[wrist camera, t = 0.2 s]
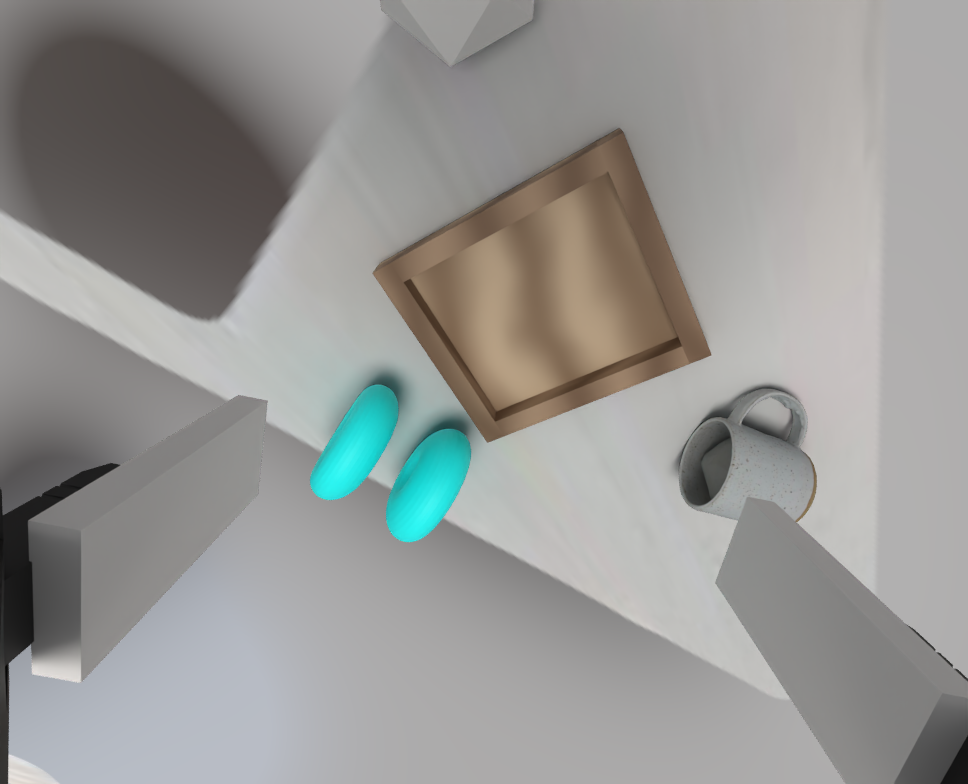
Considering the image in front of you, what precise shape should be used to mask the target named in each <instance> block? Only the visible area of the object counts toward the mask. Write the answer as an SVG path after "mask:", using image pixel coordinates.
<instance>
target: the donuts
mask: <svg viewBox="0 0 968 784" xmlns="http://www.w3.org/2000/svg"><path fill="white" fill-rule="evenodd" d="M398 411H399V407H398V401H397V398H396V396H395V394H394V393H393V391H392V390H391V389H390V388H388V387H386V386H384V385H372V386H369V387H367V388H366V389H365V390H364V391H363V392H362V393H361V394H360V395H359V396H358V398H357V399H356V401H355V402H354V404H353V405H352V406H351V408H350V409H349V411H348V412H347V414H346V415H345V417H344V418H343V420H342V422H341V423H340V425H339V426H338V428H337V429H336V431H335V433H334V434H333V436H332V438H331V439H330V441H329V442H328V444H327V446H326V447H325V449H324V451H323V453H322V454H321V456H320V458H319V459H318V461H317V463H316V465H315V467H314V469H313V471H312V474H311V477H310V485H311V488H312V490H313V492H314V493H315V494H316V495H317V496H318V497H320V498H322V499H326V500H335V499H339V498H342V497H345V496H346V495H348V494H350V493H351V492H352V491H354V490H355V489H356V488H357V487H358V486H359V485H360V484H361V483H362V482H363V481H364V480H365V478H366V477H367V476H368V475H369V473H370V472H371V470H372V469H373V467H374V466H375V464H376V463H377V461H378V460H379V458H380V457H381V455H382V453H383V451H384V450H385V448H386V446H387V444H388V442H389V440H390V438H391V436H392V434H393V432H394V429H395V426H396V423H397V419H398ZM470 459H471V447H470V443H469V441H468V439H467V437H466V436H465V435H464V434H463V433H462V432H460V431H458V430H455V429H443V430H439V431H437V432H435V433H433V434H431V435H430V436H428V437H427V438H426V439H425V440H424V441H423V442H421V444H420V445H419V446H418V447H417V448H416V449H415V450H414V452H413V453H412V454H411V456H410V457H409V459H408V460H407V462H406V463H405V465H404V466H403V468H402V470H401V472H400V473H399V475H398V477H397V479H396V481H395V483H394V485H393V488H392V490H391V493H390V496H389V499H388V503H387V508H386V520H387V525H388V528H389V530H390V532H391V533H392V535H393V536H394V537H395V538H397V539H398V540H400V541H404V542H414V541H417V540H420V539H422V538H423V537H425V536H426V535H427V534H429V533H430V532H431V531H432V530H433V529H434V528H435V527H436V526H437V525H438V523H439V522H440V521H441V520H442V518H443V517H444V516H445V514H446V513H447V511H448V510H449V508H450V507H451V505H452V503H453V502H454V500H455V498H456V496H457V495H458V493H459V491H460V488H461V486H462V484H463V482H464V480H465V477H466V474H467V471H468V468H469V464H470Z"/></svg>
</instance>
